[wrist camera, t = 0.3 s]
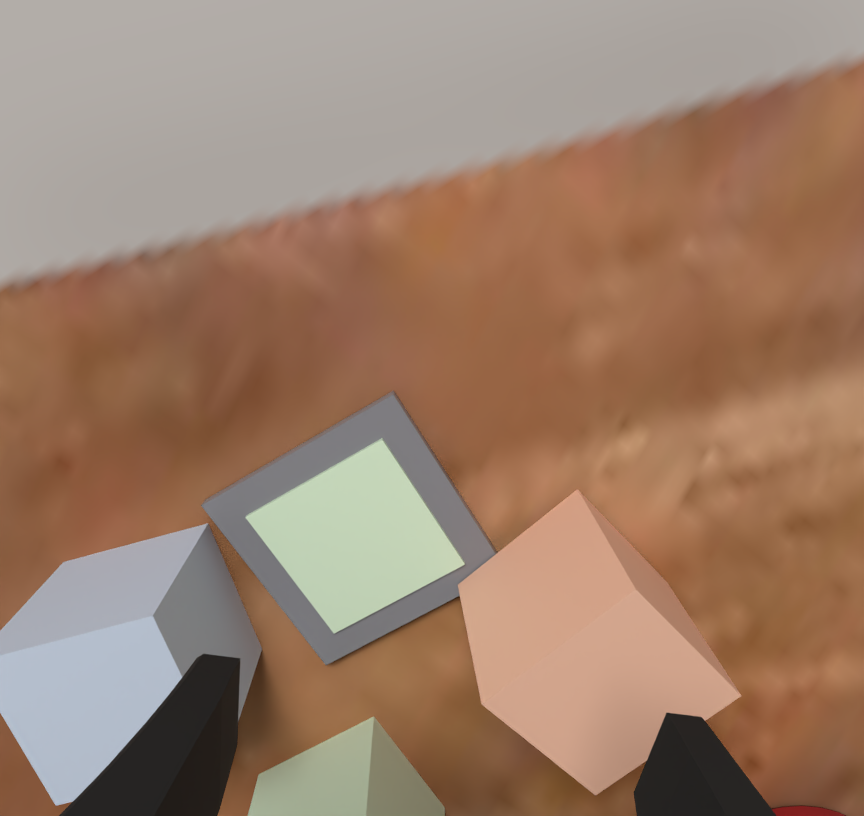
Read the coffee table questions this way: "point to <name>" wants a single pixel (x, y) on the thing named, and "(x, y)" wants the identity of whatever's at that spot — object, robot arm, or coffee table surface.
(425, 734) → the coffee table surface
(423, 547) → the tile
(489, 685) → the terracotta cube
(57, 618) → the slate blue cube
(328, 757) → the sage cube
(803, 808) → the canned food
